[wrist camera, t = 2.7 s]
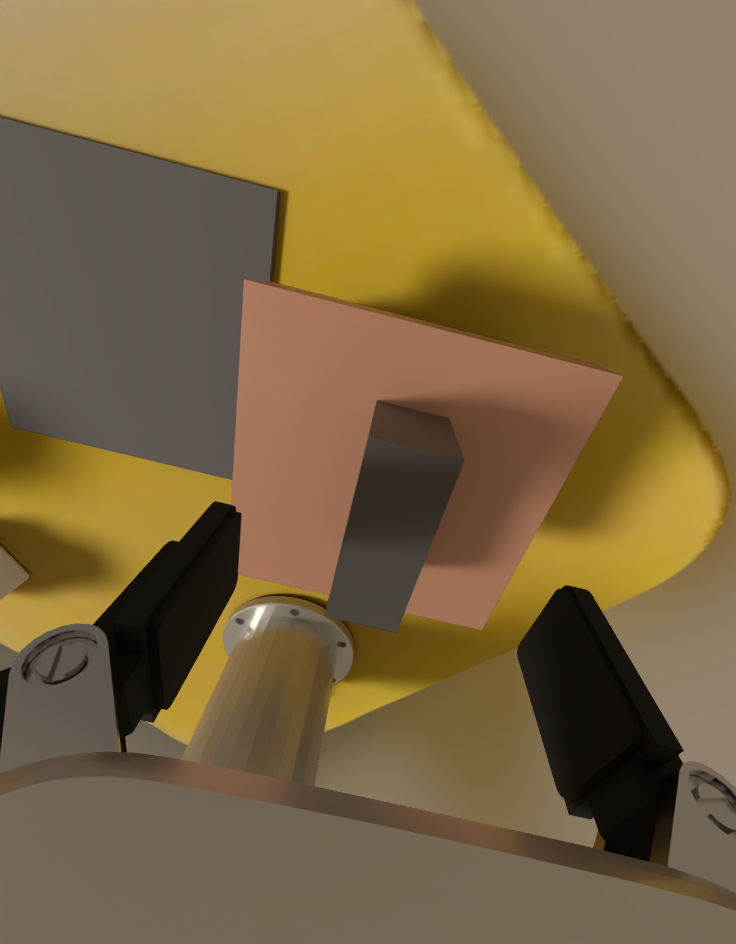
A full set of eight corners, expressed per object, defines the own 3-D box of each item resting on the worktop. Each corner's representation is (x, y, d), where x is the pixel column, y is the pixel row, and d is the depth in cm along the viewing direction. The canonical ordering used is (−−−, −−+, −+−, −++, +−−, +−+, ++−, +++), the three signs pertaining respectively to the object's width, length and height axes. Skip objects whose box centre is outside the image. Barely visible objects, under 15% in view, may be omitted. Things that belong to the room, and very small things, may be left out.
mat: (253, 481, 27) (251, 484, 27) (15, 425, 27) (10, 426, 26) (279, 192, 19) (277, 190, 19) (-66, 101, 18) (-75, 97, 18)
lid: (473, 595, 22) (499, 705, 16) (245, 542, 21) (187, 635, 16) (591, 363, 15) (705, 408, 10) (267, 280, 15) (183, 275, 9)
